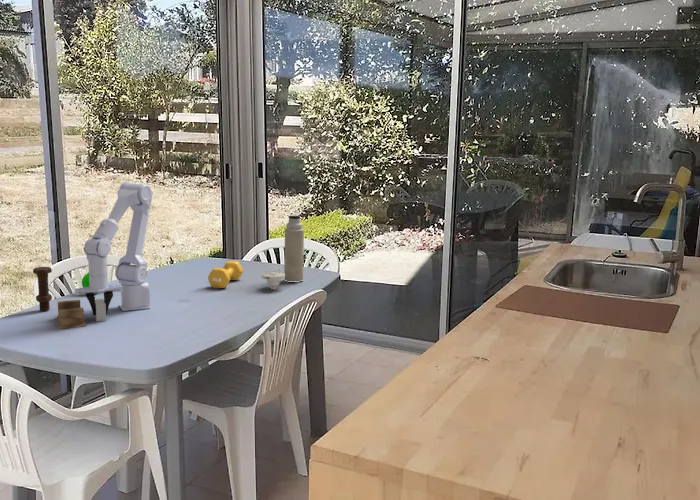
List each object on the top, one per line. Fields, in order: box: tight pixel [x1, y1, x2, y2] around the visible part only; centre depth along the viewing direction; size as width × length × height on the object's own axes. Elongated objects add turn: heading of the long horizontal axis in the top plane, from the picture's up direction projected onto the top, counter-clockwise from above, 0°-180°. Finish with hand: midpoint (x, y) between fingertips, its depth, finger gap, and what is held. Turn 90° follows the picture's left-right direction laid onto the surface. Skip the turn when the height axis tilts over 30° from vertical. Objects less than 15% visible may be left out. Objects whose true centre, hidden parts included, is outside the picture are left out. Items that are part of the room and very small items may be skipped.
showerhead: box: [260, 268, 285, 290], centre depth 263 cm, size 9×7×10 cm
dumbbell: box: [207, 260, 244, 289], centre depth 270 cm, size 19×9×8 cm, turn 168°
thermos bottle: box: [283, 214, 305, 281], centre depth 276 cm, size 8×8×28 cm
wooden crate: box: [56, 299, 87, 330], centre depth 214 cm, size 8×14×6 cm, turn 27°
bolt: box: [32, 266, 53, 312], centre depth 224 cm, size 6×5×15 cm
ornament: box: [81, 272, 90, 288], centre depth 249 cm, size 8×8×10 cm
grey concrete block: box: [94, 298, 107, 323], centre depth 218 cm, size 3×6×6 cm, turn 28°
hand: (100, 314), depth 218 cm, fingers closed on grey concrete block, 3 cm apart
